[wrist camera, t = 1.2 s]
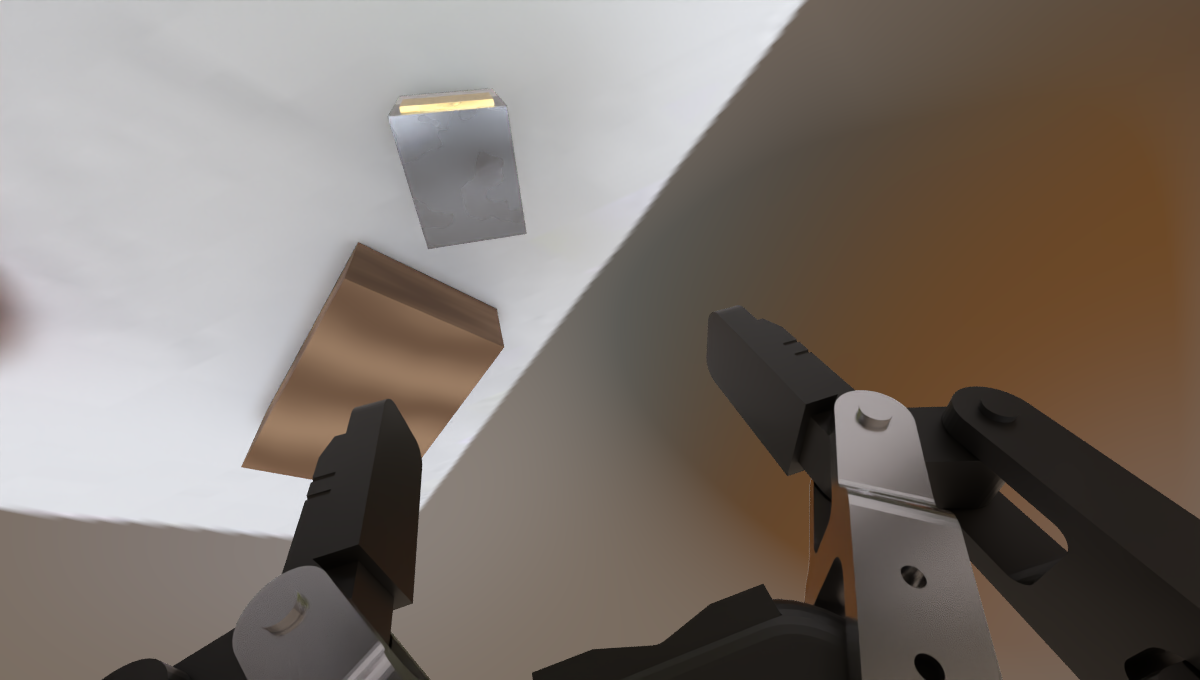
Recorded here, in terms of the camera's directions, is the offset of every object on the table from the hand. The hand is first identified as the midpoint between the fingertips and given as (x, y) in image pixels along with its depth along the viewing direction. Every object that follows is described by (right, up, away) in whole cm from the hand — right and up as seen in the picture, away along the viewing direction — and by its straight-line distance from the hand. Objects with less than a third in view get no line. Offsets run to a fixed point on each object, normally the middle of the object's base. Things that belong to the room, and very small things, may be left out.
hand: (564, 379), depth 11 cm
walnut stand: (-16, -1, +21) cm, 26 cm away
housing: (-8, +12, +15) cm, 21 cm away
